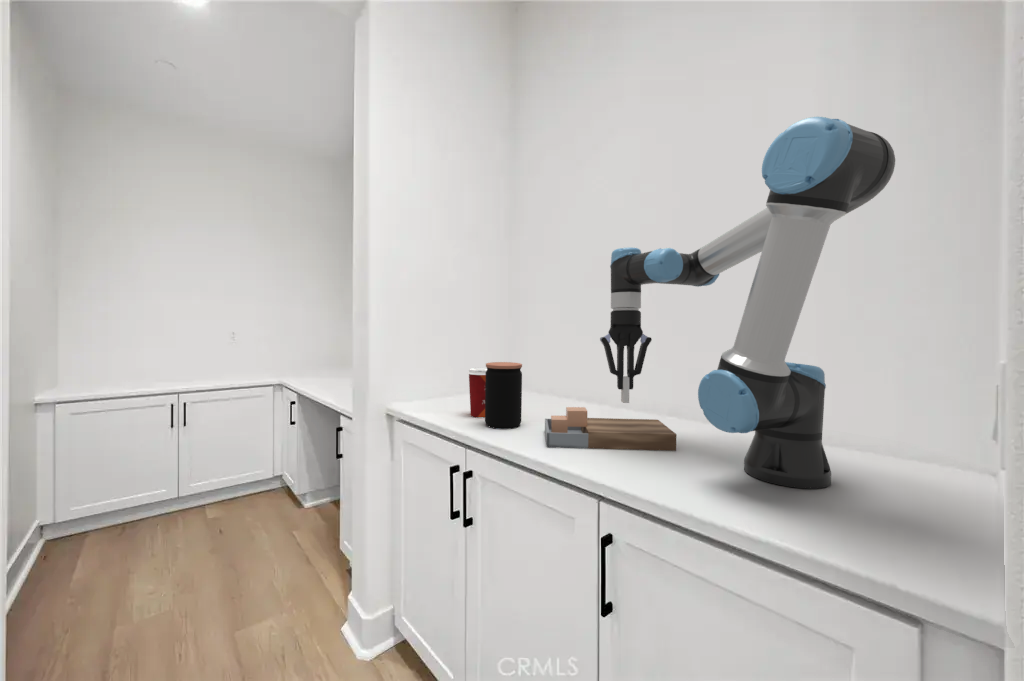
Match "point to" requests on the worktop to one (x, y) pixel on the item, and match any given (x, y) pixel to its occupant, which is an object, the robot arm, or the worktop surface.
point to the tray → (565, 437)
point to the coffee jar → (503, 394)
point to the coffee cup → (477, 391)
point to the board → (629, 434)
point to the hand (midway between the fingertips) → (625, 402)
